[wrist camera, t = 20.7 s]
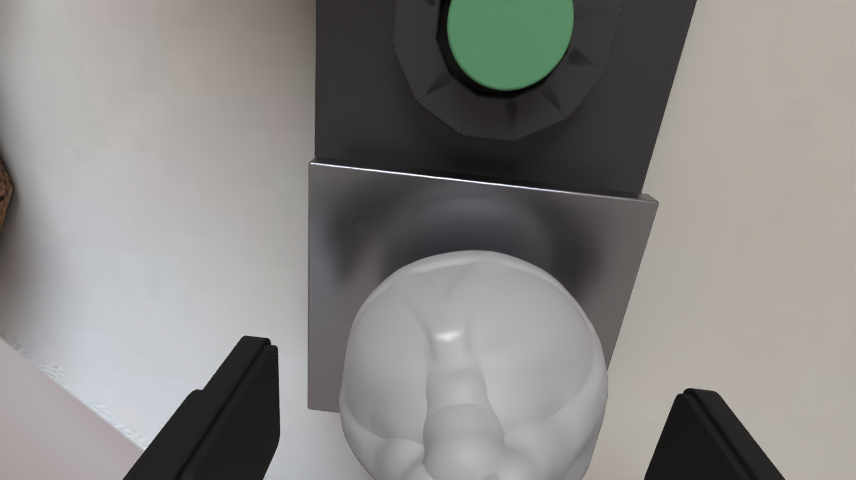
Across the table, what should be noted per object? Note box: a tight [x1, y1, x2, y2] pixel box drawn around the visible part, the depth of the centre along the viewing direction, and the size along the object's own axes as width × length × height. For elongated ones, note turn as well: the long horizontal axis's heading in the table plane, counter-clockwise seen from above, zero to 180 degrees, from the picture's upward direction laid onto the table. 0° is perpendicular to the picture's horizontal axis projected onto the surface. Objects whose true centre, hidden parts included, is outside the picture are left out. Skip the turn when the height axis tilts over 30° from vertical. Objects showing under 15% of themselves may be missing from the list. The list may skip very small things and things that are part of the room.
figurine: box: [339, 250, 608, 480], centre depth 11 cm, size 6×7×8 cm
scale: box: [315, 0, 697, 193], centre depth 16 cm, size 16×11×3 cm
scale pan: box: [308, 157, 659, 413], centre depth 15 cm, size 9×10×1 cm
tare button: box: [447, 0, 574, 91], centre depth 12 cm, size 3×3×2 cm
